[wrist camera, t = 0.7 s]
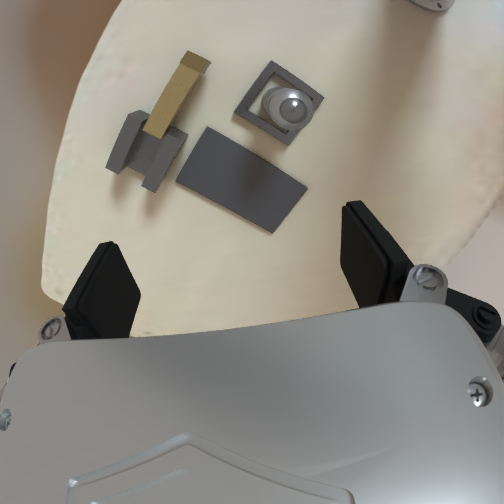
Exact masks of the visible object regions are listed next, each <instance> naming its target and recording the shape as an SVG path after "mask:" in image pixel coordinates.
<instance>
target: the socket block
mask: <svg viewBox="0 0 504 504" xmlns="http://www.w3.org/2000/svg"><path fill="white" fill-rule="evenodd" d="M149 116H150V115H149V114H147V113H145V112H143V111H141V110H138V111H135V112H133V113H130V114H128V116H127V118H126V120H125V122H124V125H123V127H122V129H121V131H120V133H119V136H118V138H117V140H116V142H115V145H114V147H113V150H112V152H111V154H110V157H109V159H108V162H107V165H106V167H105V168H107V169H109V170H111V171H113V172H115V173H117V174H119V173H120V172H121V171H122V170H123V169H124V168H125V167H127V166H128V167H130V168H132V169H134V170H136V171H138V172H140V173H142V174H144V175H146V177H145V179H144V181H143V183H142V185H141V186H142V187H144V188H146V189H148V190H150V191H152V192H154V193H155V192H156V191H157V189H158V188H159V186H160V184H161V183H162V181H163V179H164V177H165V175H166V174H167V172H168V170H169V168H170V166H171V164H172V162H173V161H174V159H175V157H176V155H177V153H178V151H179V150H180V148H181V146H182V144H183V143H184V141H185V139H186V137H187V136H188V134H187V133H185V132H183V131H181V130H179V129H177V128H175V127H173V126H170V128H169V130H168V132H167V134H166V135H165V136H164V137H163V138H162V139H159V138H157V137H155V136H153V135H151V134H149V133H147V132H145V131H143V128H144V126H145V124H146V122H147V120H148V118H149Z"/></svg>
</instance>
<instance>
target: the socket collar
mask: <svg viewBox="0 0 504 504" xmlns="http://www.w3.org/2000/svg"><path fill="white" fill-rule="evenodd" d="M273 72H274V73H275V74H277V75H279V76H280V77H282V78H283V79H285V80H286V81H288V82H289V83H291V84H292V85H293V86H295V87H296V88H298V89H299V90H301V91H302V92H303V93H305V94H306V95H308V96H309V97H310V98H311V101H312V104H313V109H314V111H315V110H316V108H317V107H318V106H319V104H320V103H321V102H322V100H323V99H324V97H323V96H322V95H321V94H319V93H318V92H317V91H315V90H314V89H313V88H311V87H310V86H308V85H307V84H306V83H304V82H303V81H301V80H300V79H299V78H297V77H296V76H294V75H293V74H291V73H290V72H288V71H287V70H285V69H284V68H282V67H281V66H279V65H278V64H276V63H275V62H273V61H270V62H269V63H268V65H267V66H266V67H265V69H264V70H263V71H262V73H261V74H260V75H259V77H258V78H257V80H256V81H255V82H254V84H253V85H252V86H251V88H250V89H249V91H248V92H247V93H246V95H245V96H244V98H243V99H242V101H241V102H240V103H239V105H238V106H237V108H236V109H235V111H234V112H235V113H236V114H238V115H240V116H241V117H243V118H245V119H246V120H248V121H250V122H251V123H253V124H255V125H256V126H258V127H260V128H261V129H263V130H264V131H266V132H267V133H269V134H271V135H272V136H274V137H275V138H277V139H278V140H280V141H281V142H283V143H284V144H286V145H287V146H288V145H289V144H290V142H291V141H292V140H293V138H294V137H295V136H296V134H297V133H298V132H299V130H300V129H298V130H287V131H286V133H283V132H282V131H280V130H279V129H277V128H276V127H274V126H273V125H271V124H269V123H268V122H266V121H265V120H263V119H262V118H260V117H258V116H257V115H255V114H254V113H252V112H250V111H249V110H247V108H248V106H249V105H250V103H251V102H252V101H253V99H254V98H255V96H256V95H257V94H258V92H259V91H260V89H261V88H262V87H263V85H264V84H265V83H266V81H267V80H268V79H269V77H270V76H271V75H272V73H273ZM314 111H313V112H314Z"/></svg>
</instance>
